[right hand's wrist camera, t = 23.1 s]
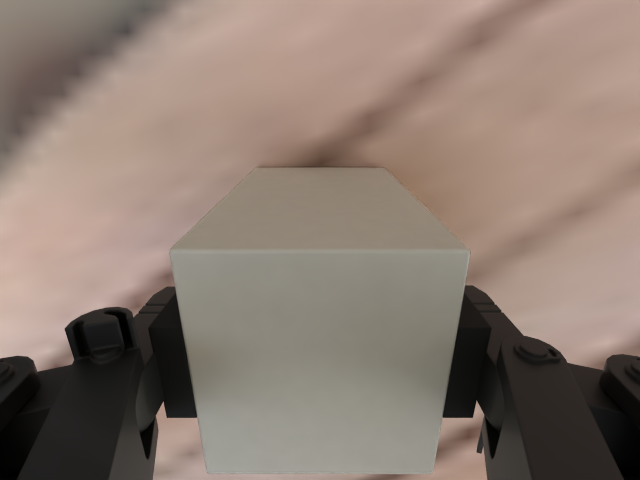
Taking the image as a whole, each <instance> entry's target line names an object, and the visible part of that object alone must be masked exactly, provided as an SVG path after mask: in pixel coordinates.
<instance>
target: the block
mask: <svg viewBox="0 0 640 480" xmlns="http://www.w3.org/2000/svg"><path fill="white" fill-rule="evenodd" d="M169 254H170V260H171V265H172V271H173V277H174V283H175V289H176V295H177V301H178V306H179V312H180V318H181V324H182V330H183V336H184V342H185V347H186V353H187V359H188V365H189V371H190V377H191V383H192V388H193V394H194V400H195V406H196V412H197V418H198V424H199V430H200V435H201V441H202V447H203V453H204V459H205V465H206V471H207V473H209V474H432V473H433V470H434V464H435V458H436V452H437V446H438V441H439V435H440V429H441V423H442V417H443V411H444V405H445V400H446V394H447V388H448V382H449V376H450V370H451V364H452V359H453V353H454V347H455V341H456V335H457V329H458V324H459V318H460V312H461V306H462V300H463V294H464V288H465V283H466V277H467V271H468V265H469V259H470V249H469V248H468V247H467V246H466V245H465V244H464V243H463V242H462V241H461V240H460V239H458V238H457V237H456V236H455V235H454V234H453V233H452V232H451V231H450V230H449V229H448V228H447V227H446V226H445V225H444V224H443V223H442V222H441V221H440V220H439V219H438V218H437V217H435V216H434V215H433V214H432V213H431V212H430V211H429V210H428V209H427V208H426V207H425V206H424V205H423V204H422V203H421V202H420V201H419V200H418V199H417V198H416V197H415V196H413V195H412V194H411V193H410V192H409V191H408V190H407V189H406V188H405V187H404V186H403V185H402V184H401V183H400V182H399V181H398V180H397V179H396V178H395V177H394V176H393V175H392V174H390V173H389V172H388V171H387V170H386V169H385V168H255V169H254V170H253V171H252V172H251V173H250V174H248V175H247V176H246V177H245V178H244V179H243V180H242V181H241V182H240V183H239V184H238V185H237V186H236V187H235V188H234V189H233V190H232V191H231V192H230V193H229V194H228V195H226V196H225V197H224V198H223V199H222V200H221V201H220V202H219V203H218V204H217V205H216V206H215V207H214V208H213V209H212V210H211V211H210V212H209V213H208V214H207V215H205V216H204V217H203V218H202V219H201V220H200V221H199V222H198V223H197V224H196V225H195V226H194V227H193V228H192V229H191V230H190V231H189V232H188V233H187V234H186V235H185V236H183V237H182V238H181V239H180V240H179V241H178V242H177V243H176V244H175V245H174V246H173V247H172V248H171V249H170V252H169Z"/></svg>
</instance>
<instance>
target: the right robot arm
mask: <svg viewBox="0 0 640 480" xmlns="http://www.w3.org/2000/svg"><path fill="white" fill-rule="evenodd" d="M65 332H66V335H67V338H68V341H69V344H70V347H71V350H72V354H73V357H74V362H73V364H72V365H68V366H64V367H59V368H54V369H49V370H44V371H39V372H37V369H36V367H35V364H34V361H33V360H32V359H30V358H29V357H24V356H14V357H7V358H1V359H0V480H153V472H154V463H155V455H156V447H157V438H158V424H157V419H156V414H157V412H158V410H159V408H160V406H161V405H162V403H163V401H164V406H165V411H166V415H167V418H197V412H196V406H195V400H194V394H193V388H192V383H191V377H190V371H189V365H188V359H187V353H186V347H185V342H184V336H183V330H182V324H181V318H180V312H179V306H178V301H177V295H176V289H175V287H166V288H164V289H163V290H161V291H159V292H158V293H156V294H154V295H153V296H152V297H151V299H150V300H149V301H148V302H147V303H146V305H145V306H143V308H142V309H141V310H140V311H139V314H136V316H135V317H134V318H133V314H132V312H131V311H130V310H128V309H127V308H121V307H109V308H103V309H99V310H94V311H92V312H89V313H86V314H84V315H81V316H80V317H78V318H77V319H75V320H73V321H72V322H70V324H69V325H68V326H67V327H66V328H65ZM476 400H477V401H478V403H479V405H480V407H481V409H482V411H483V413H484V419H483V424H482V428H481V432H480V437H479V441H478V446H477V453H482V449H483V446H484V454H485V462H486V471H487V479H488V480H640V357H638V356H631V355H624V354H620V355H612V356H611V357H609V358H608V359H607V360H606V363H605V366H604V369H603V370H599V369H594V368H589V367H584V366H579V365H574V364H570V363H567V361H566V359H565V358H564V357H563V355H562V354H561V353H560V352H559V351H558V350H557V349H555V348H554V347H552V346H551V345H549V344H547V343H545V342H543V341H541V340H538V339H535V338H531V337H527V336H523V335H522V333H521V332H520V331H519V330H518V329H517V328H516V327H515V326H514V324H513V323H512V322H511V321H510V320H509V319H508V318H507V316H506V315H505V314H504V313H501V310H500V309H499V307H498V306H497V305H495V304H494V302H493V301H492V300H491V298H490V297H489V296H488V295H487V294H486V293H484V292H483V291H481V290H479V289H478V288H476V287H474V286H465V288H464V294H463V300H462V306H461V312H460V318H459V324H458V329H457V335H456V341H455V347H454V353H453V359H452V364H451V370H450V376H449V382H448V388H447V394H446V400H445V405H444V411H443V418H473V414H474V409H475V405H476Z"/></svg>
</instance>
